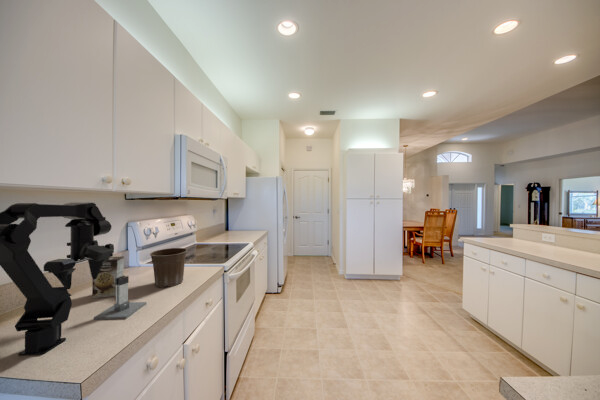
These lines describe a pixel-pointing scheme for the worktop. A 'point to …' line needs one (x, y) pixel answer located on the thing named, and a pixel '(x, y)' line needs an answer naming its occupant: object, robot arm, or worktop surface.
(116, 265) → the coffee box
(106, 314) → the plate
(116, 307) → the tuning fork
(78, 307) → the worktop surface
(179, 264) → the plant pot
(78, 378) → the worktop surface
